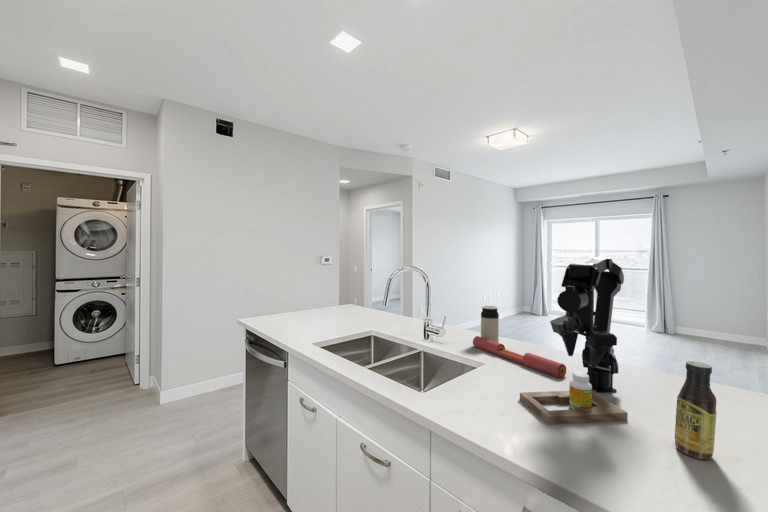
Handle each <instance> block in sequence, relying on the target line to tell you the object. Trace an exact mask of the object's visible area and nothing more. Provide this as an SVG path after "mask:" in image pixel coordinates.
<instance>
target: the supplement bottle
mask: <svg viewBox="0 0 768 512" xmlns="http://www.w3.org/2000/svg"><path fill="white" fill-rule="evenodd" d="M569 391H570V395H569V407H570V408H571V409H575V408H576V407H592V392H593V389H592V385H591V384H590V383H589V375H588V374H587V373H585V372H582V371H573V372H572V379H571V380H570V381H569Z"/></svg>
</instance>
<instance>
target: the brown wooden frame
mask: <svg viewBox="0 0 768 512" xmlns="http://www.w3.org/2000/svg"><path fill="white" fill-rule="evenodd" d="M569 395H570V390H553V391H552V390H551V391H549V390H548V391H531V392H530V391H529V392H525V391H524V392H519V400H520V401H521V402H522V403H523V404H525V406H527V407H528V408H529V409H530V410H532V411H533V413H534V414H536V415H537V416H538V417H539V418H541V420H542V421H544V422H545V423H546V424H547V425H562V424H563V425H565V424H567V425H568V424H581V423H582V424H583V423H586V424H587V423H599V422H600V423H602V422H615V421H616V422H617V421H618V422H620V421H622V422H623V421H628V415H629V414H628V412H627V411H626V410H624V409H622V408H620V407H619V406H617V405H615V404H614V403H612V402H610V401H608V400H606V399H605V398H603V397H602V396H600V395H598V394H597V393H595V392H593V391H592V407H576V408H575V409H572V408H571V409H556V410H555V409H553V410H549V409H548V408H546V407H545V406H544V405H542V404H555V403H558V404H559V405H568V404H569Z"/></svg>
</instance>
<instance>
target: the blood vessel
mask: <svg viewBox="0 0 768 512" xmlns="http://www.w3.org/2000/svg"><path fill="white" fill-rule="evenodd" d="M472 345H473V346H474V347H475V346H476V347H475V348H477V347H478V349H480V348H481V350H483V349H484V350H483V351H486V352H488V351H489V353H491V352H492V353H491V354H494V355H496V354H497V355H496V356H499V355H500V356H499V357H503V358H504V357H505V359H507V358H508V359H507V360H510V361H512V360H513V362H516V363H518V364H522V365H524V366H526V367H529V368H531V367H532V369H533V370H537V371H539V370H540V372H542V373H545V374H547V373H548V374H547V375H551V376H552V377H556V378H558V379H561V378H564V377H565V376H566V374H567V366H566V365H565V364H564V363H561V362H558V361H554V360H552V359H549V358H547V357H546V358H545V357H542V356H539V355H536V354H533V353H530V352H525V353H524V354H523V355H522V354H519V353H516V352H514V351H511V350H508V349H506V346H505V345H504V344H502V343H500V342H498V343H497V342H494V341H491V340H488V339H485V338H482V337H481V336H479V335H476V336H475V337H474V338H473V339H472Z"/></svg>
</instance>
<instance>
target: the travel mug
mask: <svg viewBox="0 0 768 512" xmlns="http://www.w3.org/2000/svg"><path fill="white" fill-rule="evenodd" d="M481 309H482V310H481V313H480V337H482V338H485V339H488V340H491V341H494V342H497V343H499V339H500V338H499V335H500V334H499V324H500V323H499V321H500V319H499V318H500V317H499V312H498V309H499V307H498V306H496V305H482V306H481Z"/></svg>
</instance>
